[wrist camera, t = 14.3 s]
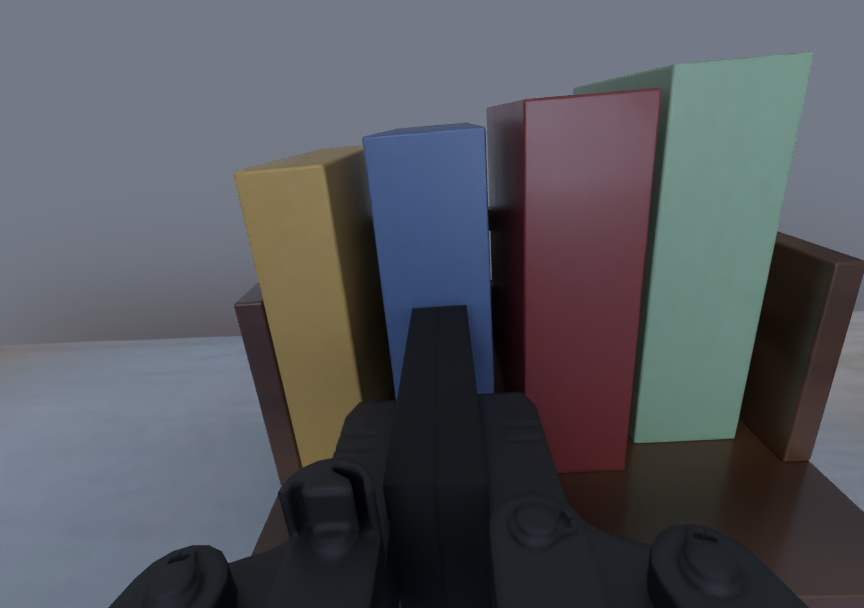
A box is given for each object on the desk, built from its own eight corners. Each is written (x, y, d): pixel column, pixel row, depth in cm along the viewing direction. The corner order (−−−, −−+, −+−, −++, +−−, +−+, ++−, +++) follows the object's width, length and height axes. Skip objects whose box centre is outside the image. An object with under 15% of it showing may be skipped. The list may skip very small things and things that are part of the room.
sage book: (735, 439, 15) (816, 51, 11) (633, 444, 15) (674, 64, 11) (629, 322, 23) (651, 80, 19) (565, 326, 23) (573, 87, 19)
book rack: (909, 673, 11) (1080, 331, 7) (251, 689, 12) (138, 387, 8) (647, 361, 25) (665, 192, 21) (355, 378, 26) (328, 218, 22)
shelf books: (625, 470, 14) (663, 87, 10) (305, 486, 14) (220, 125, 10) (556, 337, 22) (561, 101, 18) (355, 350, 23) (319, 122, 19)
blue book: (496, 459, 15) (485, 126, 11) (403, 463, 15) (361, 137, 11) (477, 335, 23) (467, 122, 19) (418, 339, 23) (396, 128, 19)
